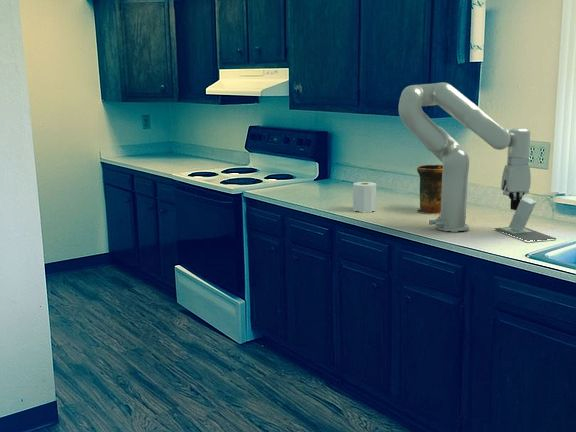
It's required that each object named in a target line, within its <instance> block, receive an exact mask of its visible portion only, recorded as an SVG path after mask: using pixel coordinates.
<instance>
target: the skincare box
mask: <svg viewBox="0 0 576 432" xmlns="http://www.w3.org/2000/svg"><path fill="white" fill-rule="evenodd" d="M536 204H537V200H535V199H532V198H530V197H528V196H525V197H522V199H521V200H520V203H519V205H518V207H517V209H516V210H515V212H514V214H513V216H512V218H511V221H510V223H509V225H508V227H510V228H512V229H514V230H516V231H518V232H519V231H521V230H523V229H524V228H525V227H526V226H527V224H528V221H529V219H530V217H531V215H532V214H533V213H532V212H533V210H534V208H535V206H536Z"/></svg>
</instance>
